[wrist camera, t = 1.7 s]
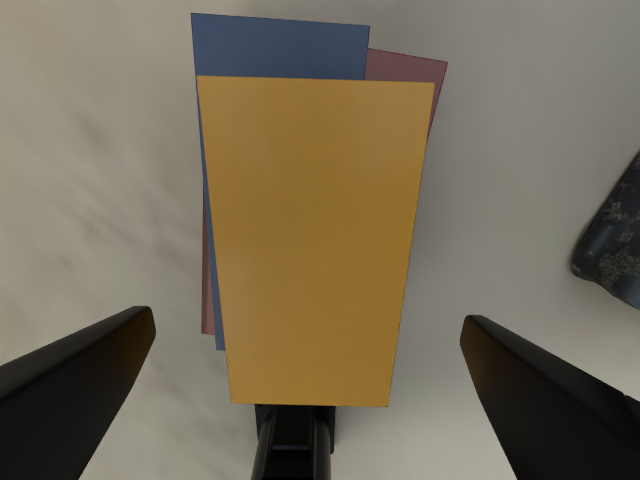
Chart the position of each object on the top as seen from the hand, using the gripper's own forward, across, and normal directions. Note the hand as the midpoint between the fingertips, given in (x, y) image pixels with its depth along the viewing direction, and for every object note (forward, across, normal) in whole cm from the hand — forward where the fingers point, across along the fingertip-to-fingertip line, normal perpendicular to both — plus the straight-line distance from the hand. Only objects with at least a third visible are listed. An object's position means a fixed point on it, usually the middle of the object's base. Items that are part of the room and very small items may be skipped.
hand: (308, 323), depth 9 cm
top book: (+6, 0, 0) cm, 6 cm away
